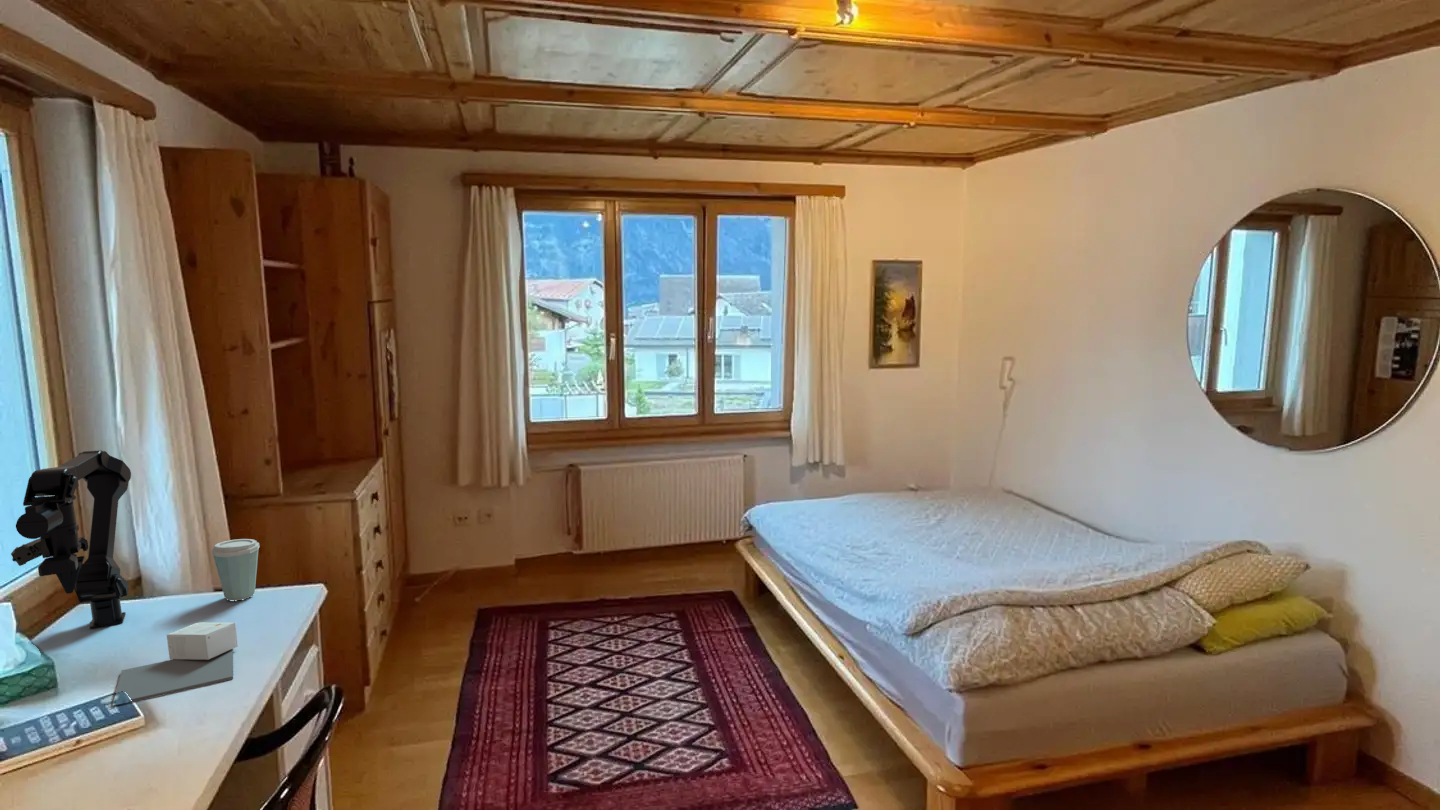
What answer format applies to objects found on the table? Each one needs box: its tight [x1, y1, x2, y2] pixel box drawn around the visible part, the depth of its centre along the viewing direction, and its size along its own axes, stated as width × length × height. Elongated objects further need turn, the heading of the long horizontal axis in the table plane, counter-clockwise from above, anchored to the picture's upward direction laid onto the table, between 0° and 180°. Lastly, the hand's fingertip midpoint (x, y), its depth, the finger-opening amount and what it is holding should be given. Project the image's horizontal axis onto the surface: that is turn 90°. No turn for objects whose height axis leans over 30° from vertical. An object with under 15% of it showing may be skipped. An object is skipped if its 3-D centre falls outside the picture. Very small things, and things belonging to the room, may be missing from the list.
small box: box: [166, 621, 238, 660], centre depth 177 cm, size 8×6×10 cm
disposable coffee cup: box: [211, 538, 260, 602], centre depth 209 cm, size 11×11×15 cm
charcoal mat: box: [115, 648, 234, 703], centre depth 168 cm, size 16×20×1 cm
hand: (69, 592), depth 180 cm, fingers closed
